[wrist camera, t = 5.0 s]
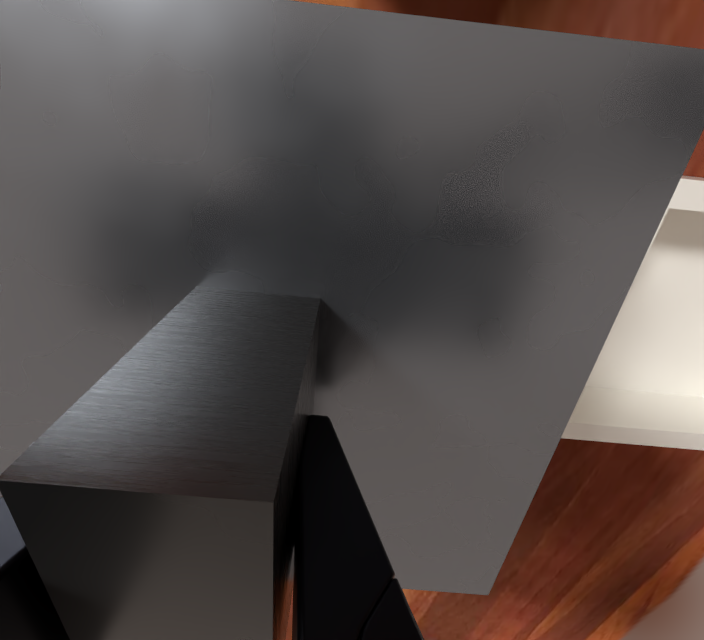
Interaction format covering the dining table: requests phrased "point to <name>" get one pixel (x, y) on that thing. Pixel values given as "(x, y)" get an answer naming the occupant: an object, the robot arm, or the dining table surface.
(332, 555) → the robot arm
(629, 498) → the dining table surface
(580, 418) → the dish
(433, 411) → the lid
